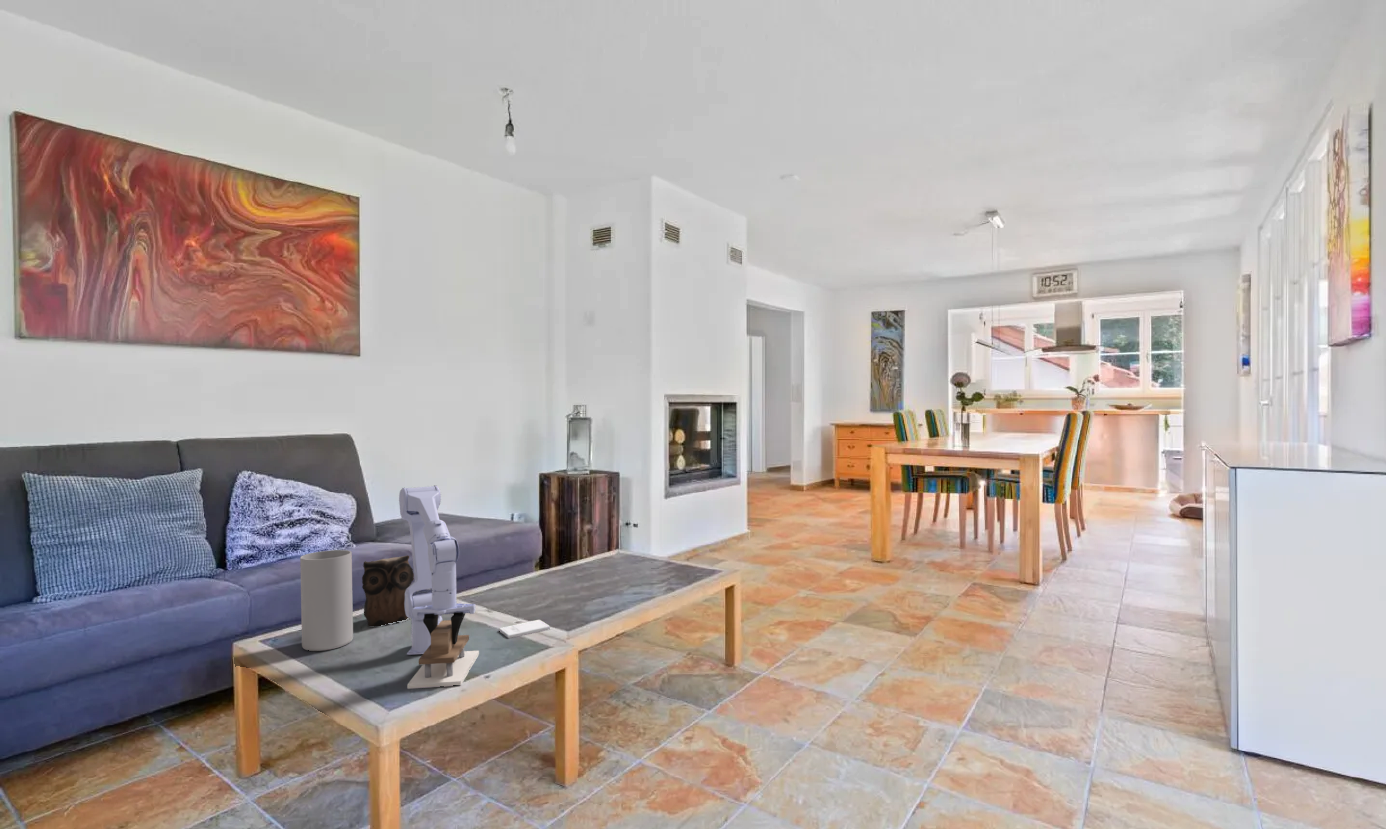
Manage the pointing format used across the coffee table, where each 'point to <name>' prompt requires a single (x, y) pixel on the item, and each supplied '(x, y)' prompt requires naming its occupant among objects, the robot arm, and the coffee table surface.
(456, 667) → the peg base
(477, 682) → the coffee table surface
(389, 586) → the owl
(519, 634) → the external hard drive
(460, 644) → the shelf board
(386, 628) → the coffee table surface
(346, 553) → the cylinder vase
